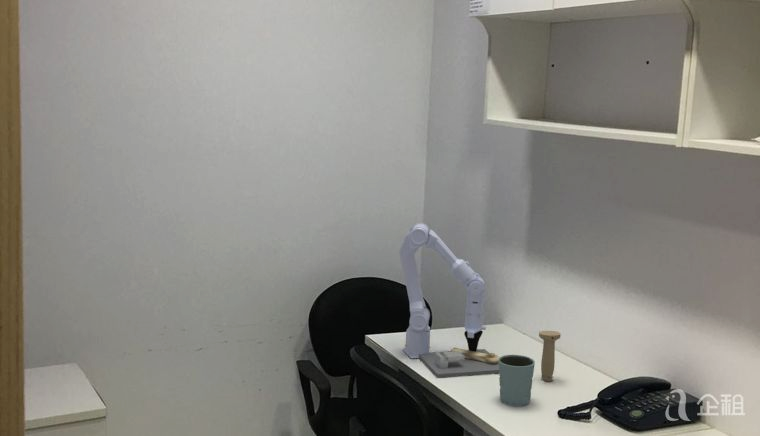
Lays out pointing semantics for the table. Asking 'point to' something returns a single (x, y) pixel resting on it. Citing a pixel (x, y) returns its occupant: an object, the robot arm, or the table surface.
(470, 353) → the link
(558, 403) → the table surface
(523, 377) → the teal cup
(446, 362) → the block
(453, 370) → the board
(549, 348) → the handle
